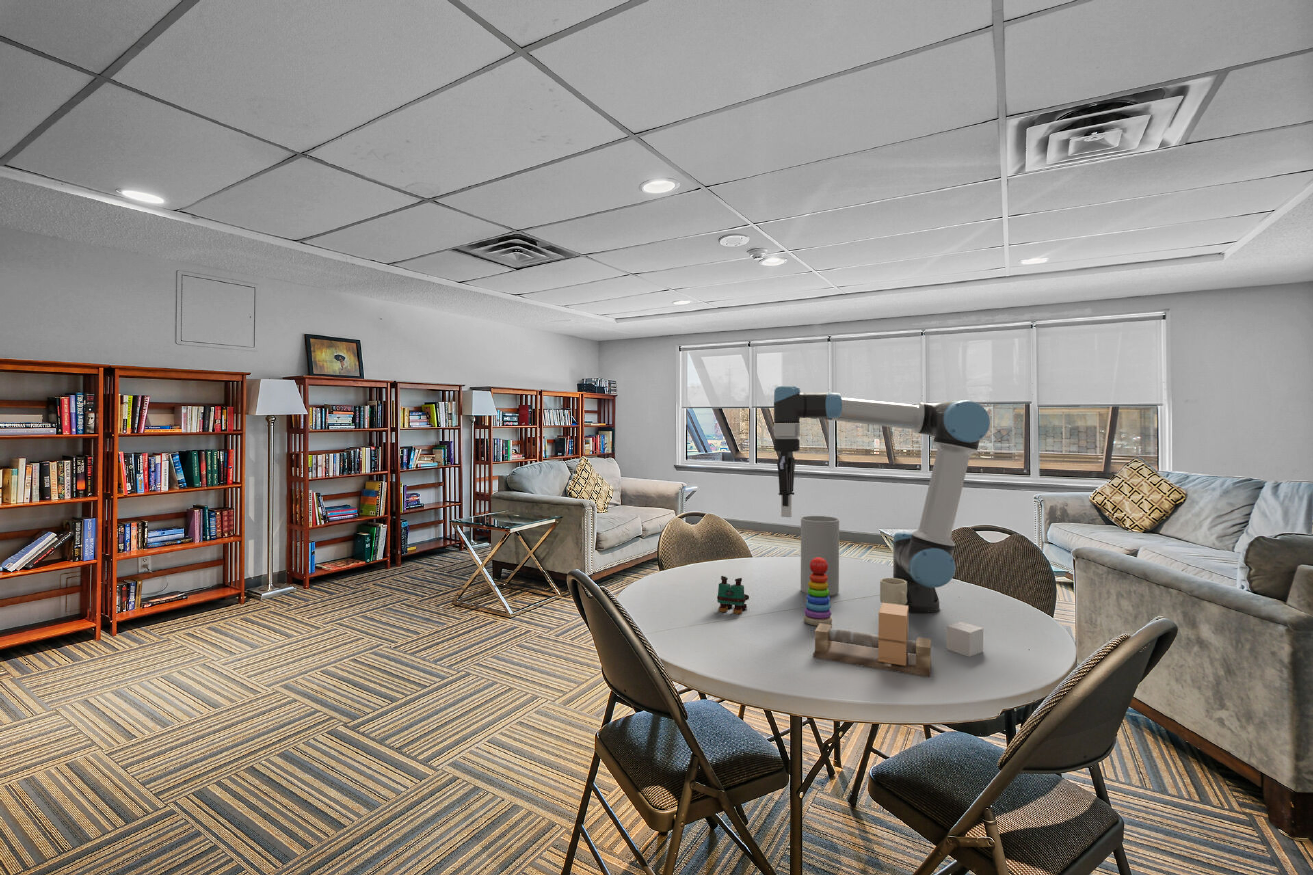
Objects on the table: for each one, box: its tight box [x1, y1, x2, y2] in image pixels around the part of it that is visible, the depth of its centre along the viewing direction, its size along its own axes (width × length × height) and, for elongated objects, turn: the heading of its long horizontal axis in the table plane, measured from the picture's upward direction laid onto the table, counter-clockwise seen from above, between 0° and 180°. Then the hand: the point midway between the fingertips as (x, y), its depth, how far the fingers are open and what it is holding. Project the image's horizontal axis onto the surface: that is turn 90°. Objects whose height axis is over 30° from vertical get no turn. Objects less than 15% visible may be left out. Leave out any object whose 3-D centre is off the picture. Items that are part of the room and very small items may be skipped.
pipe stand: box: [812, 623, 932, 678], centre depth 144 cm, size 26×10×6 cm, turn 64°
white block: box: [946, 621, 984, 657], centre depth 150 cm, size 6×6×6 cm
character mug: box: [879, 577, 907, 605], centre depth 167 cm, size 11×7×13 cm, turn 11°
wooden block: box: [877, 603, 909, 666], centre depth 142 cm, size 6×8×12 cm
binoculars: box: [716, 575, 750, 615], centre depth 183 cm, size 9×11×10 cm
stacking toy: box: [803, 557, 833, 627], centre depth 171 cm, size 8×8×19 cm
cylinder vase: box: [800, 515, 840, 597], centre depth 201 cm, size 12×12×25 cm
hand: (786, 516), depth 178 cm, fingers closed
